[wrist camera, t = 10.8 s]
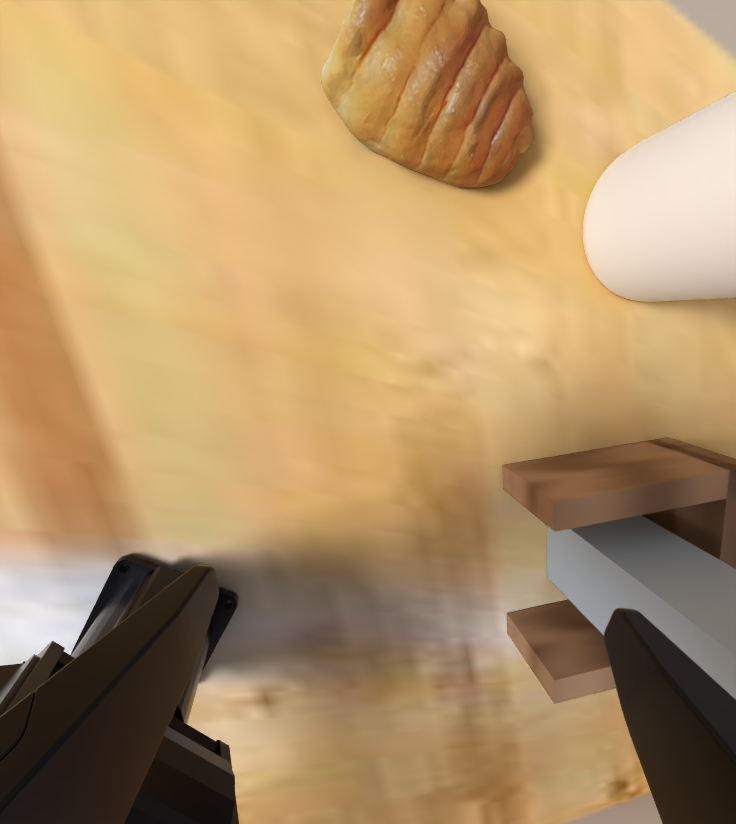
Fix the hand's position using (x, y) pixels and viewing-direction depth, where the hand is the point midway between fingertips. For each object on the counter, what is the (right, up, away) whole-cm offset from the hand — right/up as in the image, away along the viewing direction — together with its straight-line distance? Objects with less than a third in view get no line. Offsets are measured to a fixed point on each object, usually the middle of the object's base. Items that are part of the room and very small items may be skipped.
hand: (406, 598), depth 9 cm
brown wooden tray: (+12, -4, +16) cm, 21 cm away
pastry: (+1, +19, +10) cm, 21 cm away
